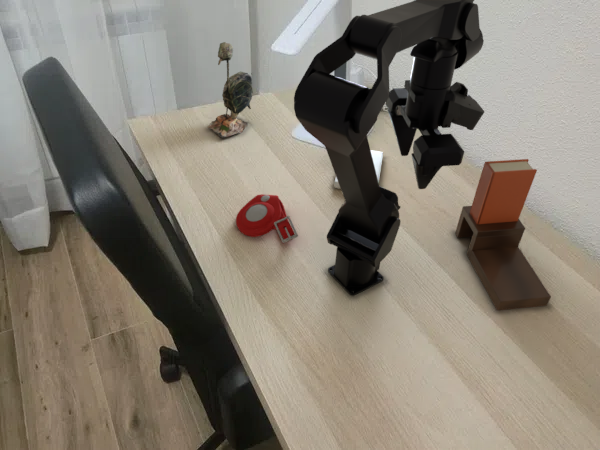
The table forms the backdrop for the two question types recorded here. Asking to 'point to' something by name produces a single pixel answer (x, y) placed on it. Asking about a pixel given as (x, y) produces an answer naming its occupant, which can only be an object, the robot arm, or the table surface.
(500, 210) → the book
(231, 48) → the plant with pod
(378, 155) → the hard drive
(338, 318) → the table surface
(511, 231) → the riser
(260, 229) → the tracker holder
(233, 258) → the table surface
